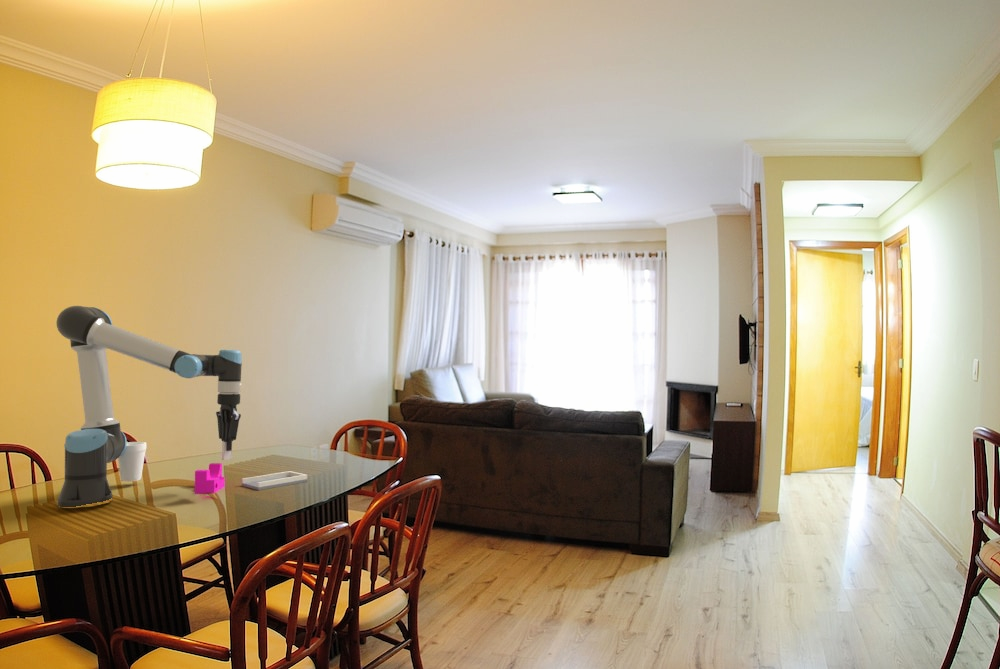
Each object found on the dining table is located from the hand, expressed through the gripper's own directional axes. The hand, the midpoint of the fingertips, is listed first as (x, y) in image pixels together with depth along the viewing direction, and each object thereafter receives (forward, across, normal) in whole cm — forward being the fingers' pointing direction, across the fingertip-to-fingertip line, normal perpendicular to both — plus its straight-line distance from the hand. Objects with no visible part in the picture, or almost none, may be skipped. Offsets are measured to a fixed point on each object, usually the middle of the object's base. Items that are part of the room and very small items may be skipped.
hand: (226, 459), depth 239 cm
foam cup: (+9, +31, +19) cm, 38 cm away
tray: (+8, -14, -11) cm, 20 cm away
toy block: (+9, -5, +8) cm, 13 cm away
